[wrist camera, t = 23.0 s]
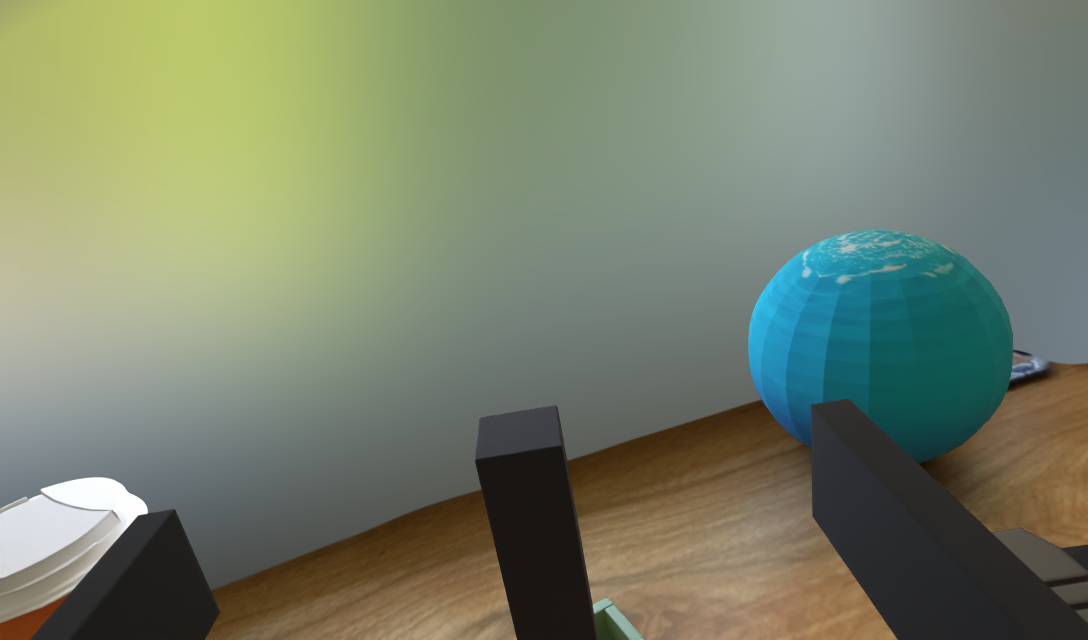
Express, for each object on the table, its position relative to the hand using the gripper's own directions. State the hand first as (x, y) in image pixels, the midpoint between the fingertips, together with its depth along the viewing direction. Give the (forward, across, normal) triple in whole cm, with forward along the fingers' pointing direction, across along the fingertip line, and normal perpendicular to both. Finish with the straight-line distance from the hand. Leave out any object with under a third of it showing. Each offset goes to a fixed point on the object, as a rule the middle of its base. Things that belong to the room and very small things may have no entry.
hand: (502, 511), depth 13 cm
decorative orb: (+26, +21, -19) cm, 38 cm away
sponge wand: (+5, 0, -18) cm, 19 cm away
